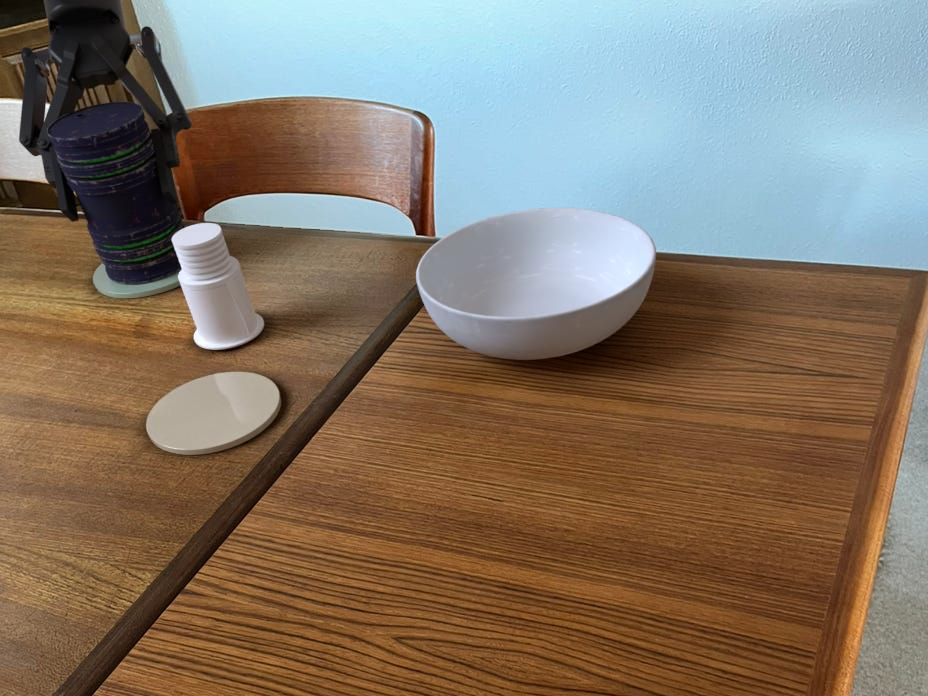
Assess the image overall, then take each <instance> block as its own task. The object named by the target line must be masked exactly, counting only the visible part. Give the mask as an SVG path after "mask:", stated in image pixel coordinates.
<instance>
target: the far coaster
mask: <svg viewBox="0 0 928 696" xmlns="http://www.w3.org/2000/svg"><path fill="white" fill-rule="evenodd" d="M181 270H182V268H181V269H180V270H178V271H177V272H175V273H173V274H171V275H169V276H166V277H164V278H161V279H158V280H154V281H150V282H146V283H139V284H122V283H117V282H114V281H112V280H111V279H110V278H109V277H108V275H107V273H106V271H105V265H104V264H103V263H102V262H101V263H100V264H99V265H98V267H97V268H96V269H95V270H94V273H93V275H92V282H93V285H94V287H95V289H96V290H97V291H98V293H100V294H102V295H104V296H106V297H110V298H116V299H136V298H137V299H138V298H145V297H150V296H154V295H158V294H162V293H165V292H168V291H171V290H173V289H176V288H178V287H181V284H180V282H179V279H178V274H179V272H180V271H181Z"/></svg>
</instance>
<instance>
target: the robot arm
mask: <svg viewBox="0 0 928 696" xmlns="http://www.w3.org/2000/svg"><path fill="white" fill-rule="evenodd" d="M43 5H44V10H45V14H46V20H47V26H48V31H49V36H50V37H49V43H48V46H47V48H45V49H41V50H37V51H33V50H32V48H30V47H27V46H26V47H24V48H22V49H21V51H20V56H21V59H22V64H23V68H24V80H23V91H22V102H21V111H20V123H19V124H20V125H19V135H18V141H19V143H20V145H21V146H23V148H24V149H26V150H27V151H28V153H29V154H30V155H32V157H39V156H41V162H42V166H43V172H44V177H45V180H46V181H47V183H48V184H49V185H50V186H51V187H52V188H53V189H56V195H57V199H58V205H59V210H60V212H61V213H62V214H63V215H64V216H65V217H66V218H67V219H68V220H69V221H70V222H71V223H72V222H79V219H80V218H79V214H78V209H77V203H76V197H75V196H76V195H75V192H74V191H73V190H72V189H71V188H70V186H69V184H68V183H67V181H66V176H65V174H64V172H63V171H62V169H61V167H60V164H59V162H58V160H57V155H56V152H55V150H54V148H53V146H54V144H53V143H52V142H51V140H50V138H49V136H48V133H47V128H48V127H49V125H50V124H51V123H53V122H54V121H55V120H57V119H58V118H60V117H62V116H64V115H66V114H68V113H71V112H73V111H76V108H77V105H78V101H80V100H82V98H83V96H84V93H85V90H91V89H95V88H97V87H99V86H113V85H116V82H117V81H119V82H120V83H121V84H122V86H123V87H124V88H125V90H126V91H127V92H128V93H129V94H130V95H131V96H132V98H133V99H134V100H135V101H136V103H137V104H139V105H140V106H141V107H142V109H143V112H145V114H147V116H148V117H149V118H150V119H151V121H152V123H154V124H155V126H156V127H157V128H152V129H151V128H150V132H151V134H152V140H153V145H154V151H155V156H156V162H157V167H158V173H159V179H160V184H161V190H162V194H163V195H164V196H165V198H166V199H167V200H168V201H169V203H170V204H175V203H176V204H178V197H177V192H176V187H175V186H176V185H175V180H174V175H173V170H172V169H173V168H180V163H181V159H180V154H179V149H178V143H177V135H178V134H179V133H180V132H181V131H188V130H189V129H191V128H192V125H193V124H192V120H191V118H190V116H189V114H188V112H187V110H186V107H185V106H184V103H183V102H182V100H181V98H180V95H179V93H178V91H177V89H176V87H175V85H174V83H173V81H172V78H171V76H170V75H169V72H168V70H167V69H166V66H165V64H164V62H163V55H162V47H161V43H160V41H159V38H158V37H157V35H156V33H155V32H154V31H153V28H151V26H144V27H143V26H142V28H141V29H140V32H137V33H129V32H128V31H127V28H126V22H125V16H124V11H123V6H122V5H123V4H122V0H43ZM134 50H137V51H138V53H139V55H140V56H141V57H142V58H143V59H146V61H147V64H148V65H149V67H150V69H151V72H152V74H153V75H154V77H155V80H156V82H157V83H158V86H159V88H160V90H161V92H162V94H163V96H164V98H165V100H166V102H167V104H168V107H169V108H170V110H171V113H169V114H167V115H166V114H165V113H164V112H163V110H162V109H161V108H160V106H158V104H157V103H156V102H155V101H154V100H153V99H152V97H151V96H150V95H149V93H148V92H147V91H146V90H145V89H144V87H143V86H142V84H140V83H139V81H138V80H137V79H136V78H135V76H134V75H133V74H132V73H131V72H130V70H129V68H127V64H128V62H129V61H130V59H131V56H132V54H133V52H134ZM53 64H56V65H57V67H59V68H58V71H57V74H56V85H55V89H54V92H53V95H52V99H51V101H50V103H49V106H48V109H47V112H46V106H47V96H48V95H47V94H48V80H47V79H48V78H49V77H50V75H51V66H52V65H53Z"/></svg>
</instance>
